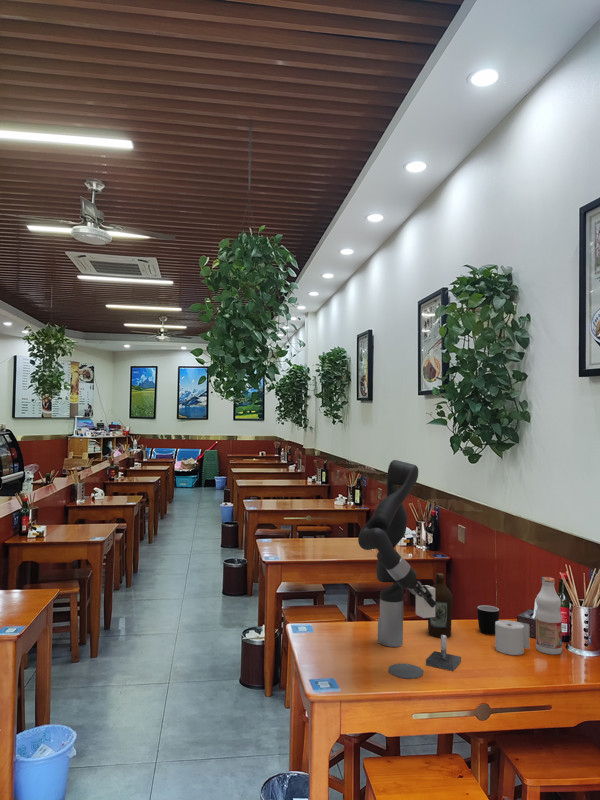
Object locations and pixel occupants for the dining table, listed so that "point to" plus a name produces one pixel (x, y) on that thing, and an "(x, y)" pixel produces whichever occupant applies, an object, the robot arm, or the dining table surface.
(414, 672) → the mat
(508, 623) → the toilet tissue
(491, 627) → the mug
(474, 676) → the dining table surface
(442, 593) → the olive oil
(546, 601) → the fruit juice
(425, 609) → the sleeve
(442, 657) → the post stand
